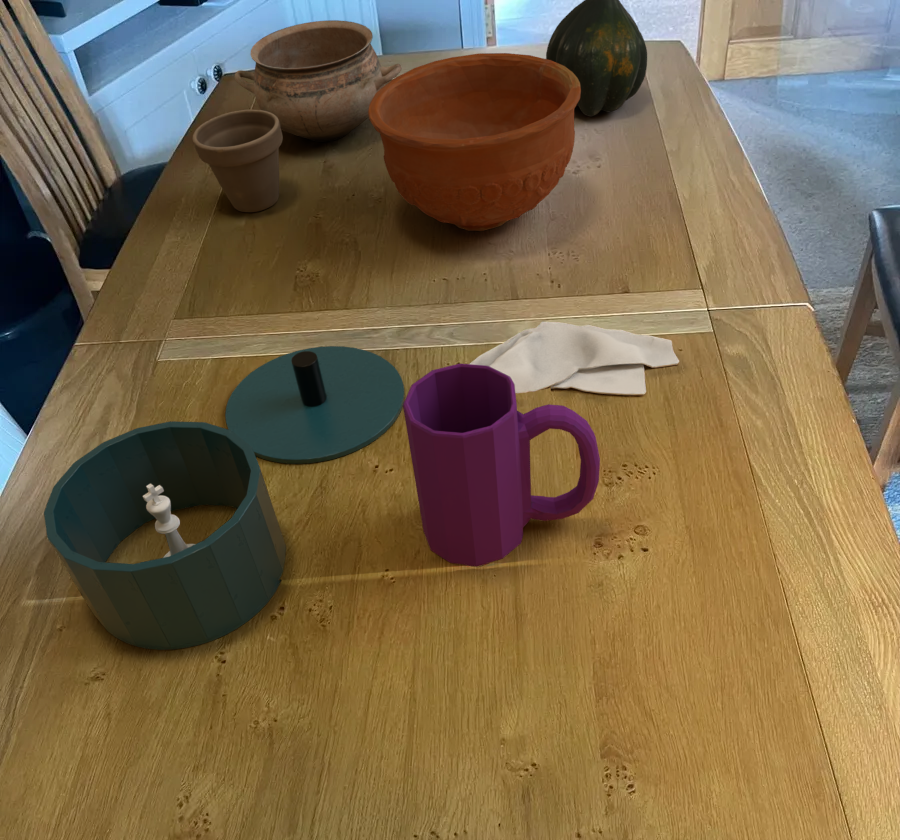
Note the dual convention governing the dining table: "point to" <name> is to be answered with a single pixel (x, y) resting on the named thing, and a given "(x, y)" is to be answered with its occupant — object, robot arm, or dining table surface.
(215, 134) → the flower pot
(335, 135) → the cooking pot
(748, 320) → the dining table surface
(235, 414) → the lid
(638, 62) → the squash
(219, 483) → the pot
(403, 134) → the bowl
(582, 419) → the mug
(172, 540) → the chess piece
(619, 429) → the dining table surface
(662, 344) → the cloth
